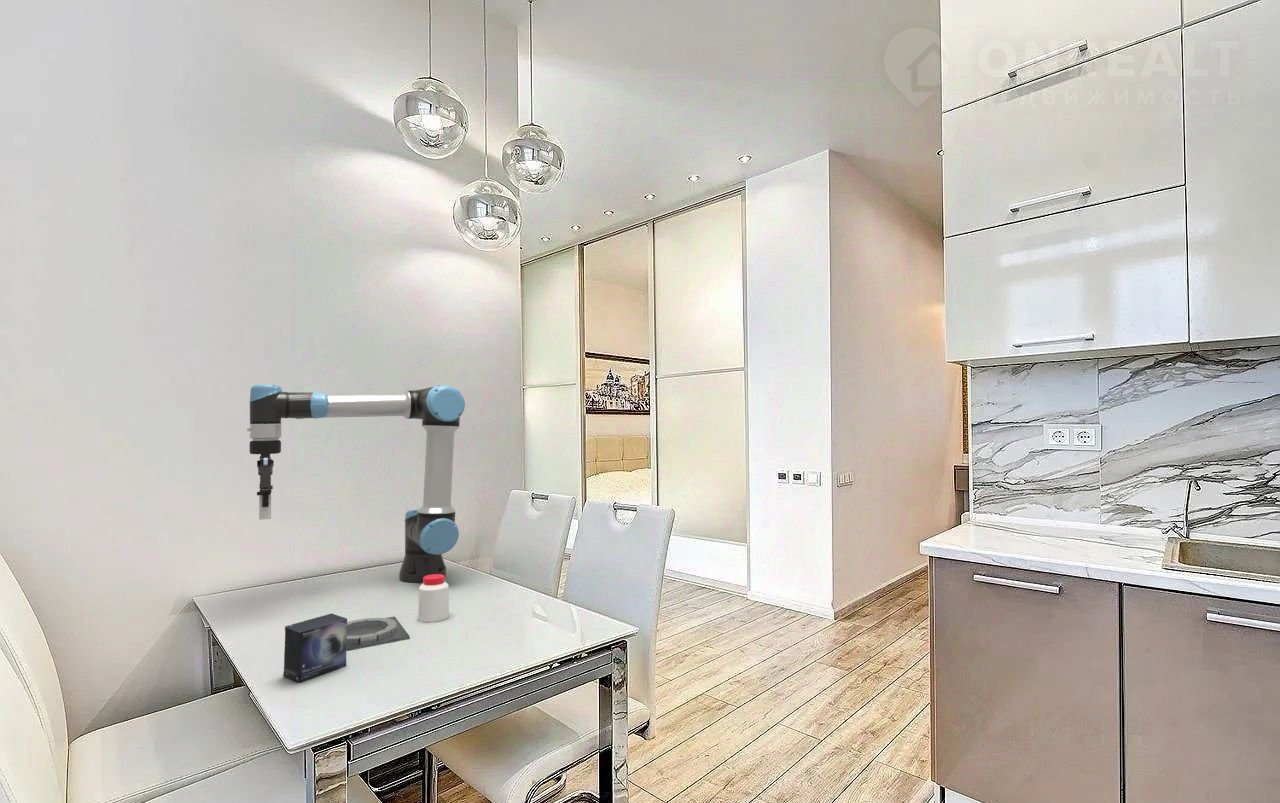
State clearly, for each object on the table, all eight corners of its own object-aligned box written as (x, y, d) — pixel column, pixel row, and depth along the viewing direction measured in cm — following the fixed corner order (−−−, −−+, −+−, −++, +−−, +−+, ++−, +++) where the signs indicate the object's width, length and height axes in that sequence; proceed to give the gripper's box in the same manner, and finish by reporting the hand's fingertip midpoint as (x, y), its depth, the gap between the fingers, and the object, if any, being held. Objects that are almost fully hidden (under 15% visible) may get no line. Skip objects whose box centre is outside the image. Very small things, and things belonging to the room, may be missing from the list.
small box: (299, 684, 123) (299, 631, 123) (282, 677, 126) (282, 626, 127) (348, 666, 132) (348, 617, 132) (331, 659, 135) (331, 612, 136)
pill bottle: (412, 620, 162) (412, 578, 162) (432, 611, 169) (432, 572, 169) (435, 623, 159) (435, 581, 159) (454, 615, 166) (454, 574, 166)
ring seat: (394, 618, 163) (394, 611, 163) (409, 638, 148) (409, 631, 148) (319, 631, 153) (319, 624, 153) (327, 654, 138) (327, 646, 138)
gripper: (250, 439, 179) (249, 511, 178) (248, 441, 157) (248, 523, 157) (279, 438, 183) (279, 509, 182) (282, 440, 161) (281, 520, 161)
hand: (264, 515), depth 169 cm, fingers open, 13 cm apart
